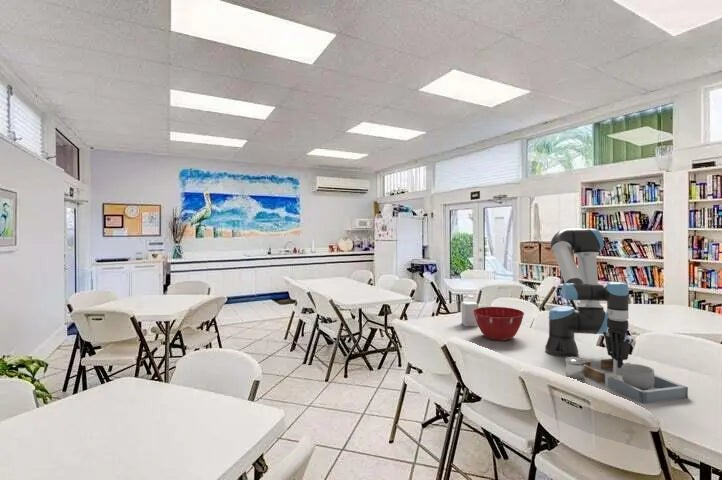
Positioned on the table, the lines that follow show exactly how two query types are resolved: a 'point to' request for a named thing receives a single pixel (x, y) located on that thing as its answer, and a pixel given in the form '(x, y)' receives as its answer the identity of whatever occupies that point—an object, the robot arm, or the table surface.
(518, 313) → the mixing bowl
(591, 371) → the wooden u-shaped bracket
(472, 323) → the supplement box
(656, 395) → the dock
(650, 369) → the teacup
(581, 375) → the sugar tin
